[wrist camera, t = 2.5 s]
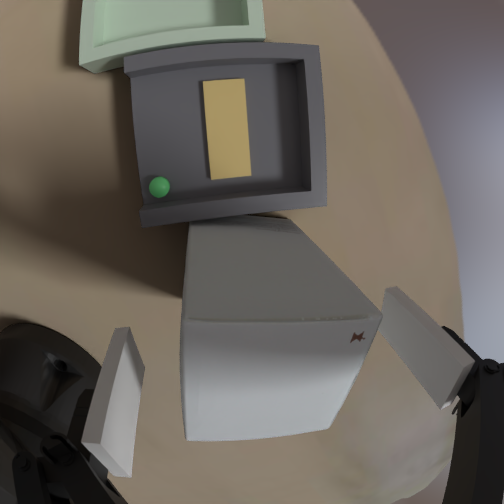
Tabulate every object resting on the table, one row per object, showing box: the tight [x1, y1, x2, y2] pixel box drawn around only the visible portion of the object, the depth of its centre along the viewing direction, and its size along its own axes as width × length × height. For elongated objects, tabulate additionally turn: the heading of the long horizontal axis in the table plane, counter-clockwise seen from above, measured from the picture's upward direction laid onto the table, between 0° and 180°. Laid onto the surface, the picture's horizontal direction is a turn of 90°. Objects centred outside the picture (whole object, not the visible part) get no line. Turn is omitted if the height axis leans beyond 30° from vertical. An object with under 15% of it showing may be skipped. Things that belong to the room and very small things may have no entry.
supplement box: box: [180, 215, 383, 441], centre depth 16 cm, size 7×7×13 cm
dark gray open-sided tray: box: [124, 42, 327, 228], centre depth 16 cm, size 11×10×4 cm
